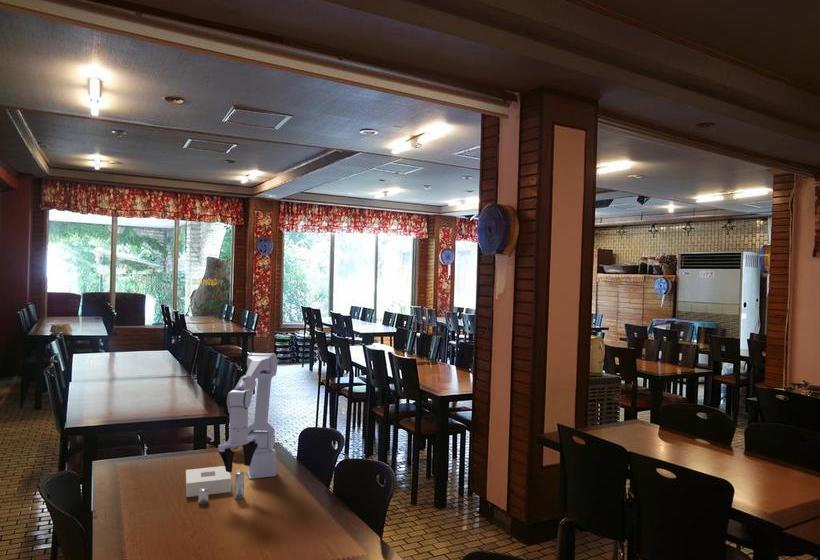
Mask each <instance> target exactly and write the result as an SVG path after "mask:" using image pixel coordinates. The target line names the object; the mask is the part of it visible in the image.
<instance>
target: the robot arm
mask: <svg viewBox="0 0 820 560" xmlns="http://www.w3.org/2000/svg"><path fill="white" fill-rule="evenodd" d="M278 363H279V362H278V356H277V354H276V353H275V352H272V353H269V352H268V353H263V352H262V353H261V352H250V353H248V355H247V358H246V367H247V371H246V373H245V375H242V376H241V377H240V378H239V380H238V382H237V384H236V386H235V387H234V389H232V390H230V391H229V392H228V394H227V396H226V397H227V398H226V406H227V412H228V414H229V438H228V440H227V441H225V442H223V443H221V444H218V446H217V447H218V448H217V450H218V453H219V456H220V457H221V459H222V462H223V464H224V465H223V466H225V469H226V472H230V473H232V472H233V462H234V461H233V457H234V454H235V452H233V451H232V450H231V449H232V448H235V447H239V446H243V451H244V461H243V463H244V466H247V467H248V468H249V470H247V471H246V473H247V476H248V478H249V479H260V478H269V477H270V478H271V477H276V476H277V451H276V448H274V447H275V443H276V442H275V441H276V435H275V432H276V431H275V428H274V426H272V425H271V424H270V423H269V410H270V399H271V398H270V397H271V387H272V385H271V384H272V379H273V377H275V376H277V371H278ZM255 387H256V398H255V408H254V409H255V411H254V418H253V420H254V421H253V423H252V424H250V425H249V407H250V406H251V402H252V398H253V396H252V394H253V391H254V390H255Z"/></svg>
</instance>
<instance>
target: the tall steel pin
mask: <svg viewBox="0 0 820 560" xmlns="http://www.w3.org/2000/svg"><path fill="white" fill-rule="evenodd" d="M233 480H234V481H233V482H234V486H233V487H234V491H233V492H234V493H233V495H234V496H233V498H234V499H235V500H243V499H244V498H245V472H244V471H235V472H234V479H233Z"/></svg>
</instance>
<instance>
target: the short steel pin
mask: <svg viewBox="0 0 820 560" xmlns="http://www.w3.org/2000/svg"><path fill="white" fill-rule="evenodd" d="M197 497H198V500H197V502H198V504H200V505H204V504H205V505H206V504H208V503H209V495H208V488H201V489H199V490H198V496H197Z"/></svg>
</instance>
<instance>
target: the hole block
mask: <svg viewBox="0 0 820 560" xmlns="http://www.w3.org/2000/svg"><path fill="white" fill-rule="evenodd" d="M201 488H208V496H209V495H216V494H217V495H218V494H225V493H231V492H232V475H231V472H226V469H225V465H220V466H211V467H202V468H201V467H200V468H193V469H192V468H191V469H185V493H186V498H191V497H192V498H193V497H198V490H199V489H201Z"/></svg>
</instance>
